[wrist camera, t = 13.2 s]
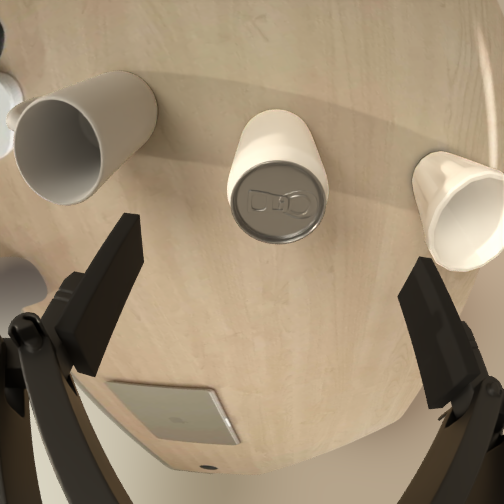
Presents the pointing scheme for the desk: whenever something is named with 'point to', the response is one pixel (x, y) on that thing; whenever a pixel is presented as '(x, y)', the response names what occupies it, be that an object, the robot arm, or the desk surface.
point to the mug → (81, 134)
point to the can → (277, 179)
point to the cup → (460, 210)
